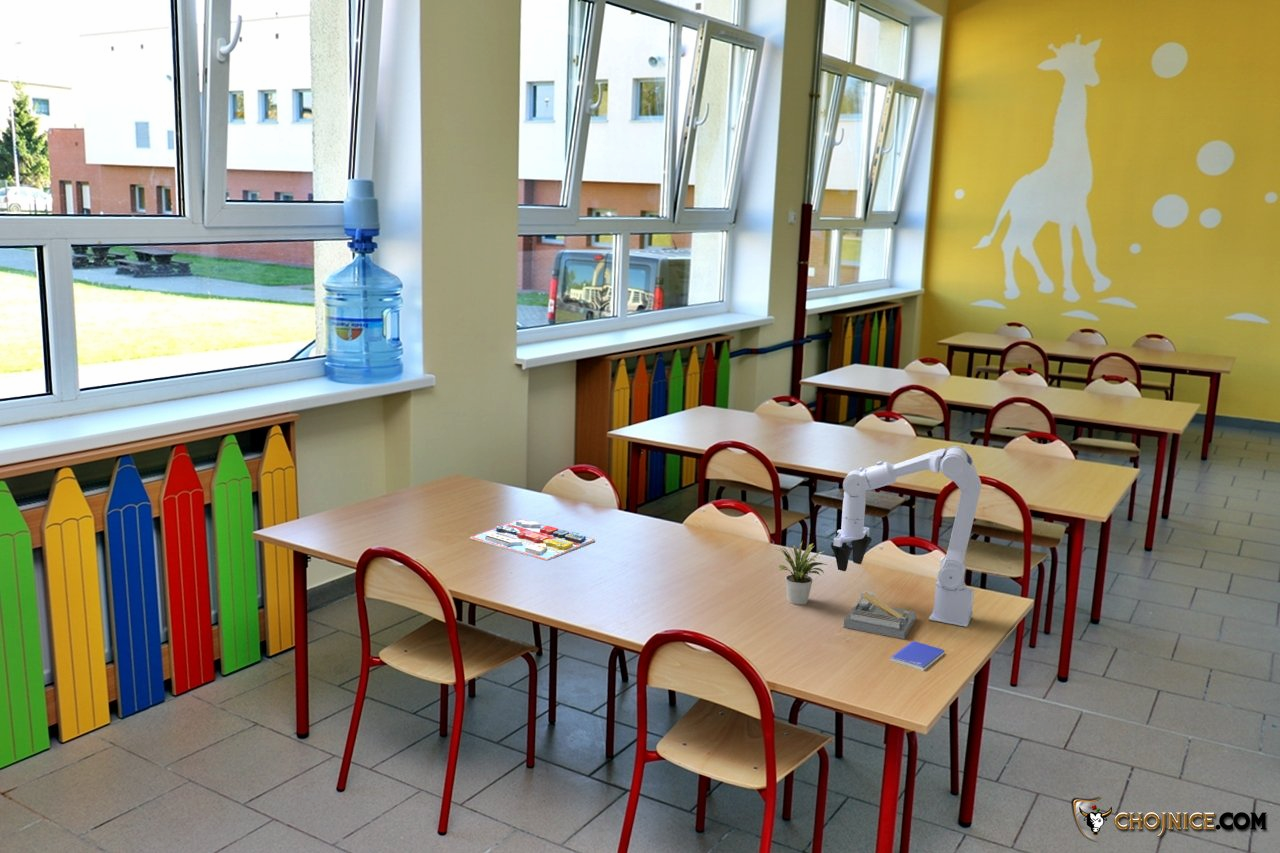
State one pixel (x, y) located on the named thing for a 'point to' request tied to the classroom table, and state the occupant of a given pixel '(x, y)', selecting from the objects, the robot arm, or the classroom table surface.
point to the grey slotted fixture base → (880, 621)
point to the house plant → (800, 575)
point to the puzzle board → (533, 539)
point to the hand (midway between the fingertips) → (849, 566)
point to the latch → (864, 601)
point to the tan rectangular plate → (881, 605)
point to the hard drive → (917, 655)
